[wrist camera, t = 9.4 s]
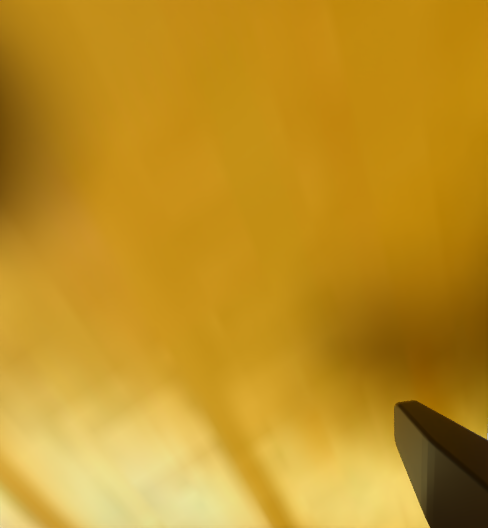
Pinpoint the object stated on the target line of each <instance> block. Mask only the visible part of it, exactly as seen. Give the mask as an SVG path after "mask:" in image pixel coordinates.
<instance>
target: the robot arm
mask: <svg viewBox="0 0 488 528" xmlns="http://www.w3.org/2000/svg"><path fill="white" fill-rule="evenodd" d="M394 436H395V442H396V446H397V449H398V451H399V454H400V456H401V459H402V461H403V464H404V466H405V469H406V471H407V474H408V476H409V479H410V481H411V483H412V486H413V488H414V491H415V493H416V496H417V498H418V501H419V503H420V506H421V508H422V511H423V513H424V515H425V518H426V520H427V522H428V524H429V526H430V528H488V440H486V439H485V438H483V437H481V436H479V435H477V434H476V433H474V432H472V431H470V430H468V429H466V428H465V427H463V426H461V425H459V424H457V423H456V422H454V421H452V420H450V419H448V418H447V417H445V416H443V415H441V414H439V413H437V412H436V411H434V410H432V409H430V408H428V407H427V406H425V405H423V404H421V403H419V402H417V401H414V400H412V401H404V402H398V403H397V404H396V405H395V408H394Z"/></svg>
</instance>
